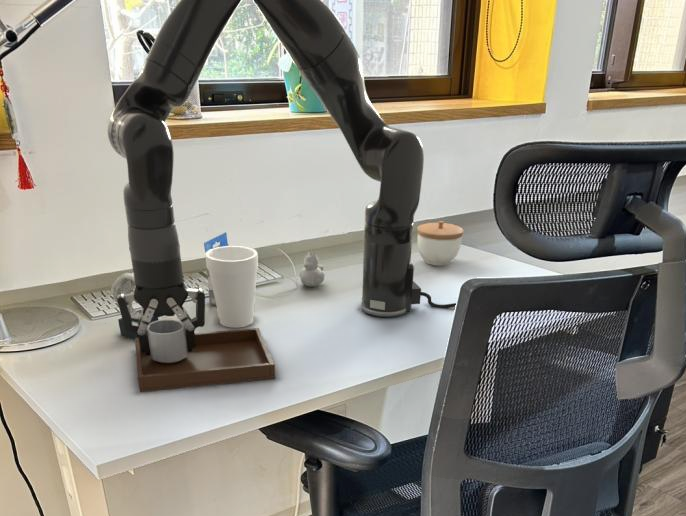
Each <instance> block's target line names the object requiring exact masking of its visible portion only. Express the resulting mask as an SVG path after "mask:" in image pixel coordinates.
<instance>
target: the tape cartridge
mask: <svg viewBox="0 0 686 516" xmlns="http://www.w3.org/2000/svg"><path fill="white" fill-rule="evenodd" d="M216 243H217V244H218V243H219V244H218V245H217V246H215V247H214V245H216ZM223 246H230V245H229V243H228V233H227V231H225V232H223V233H222V234H221V233H220V234H219V235H217V236H215V237H213V238H211V239H209V240H207V241H205V242H203V247H204V253H206V252H207V251H208V250H210V249H213V248H217V247H223ZM206 275H207V286H208V287H207V288H208V300H209V305H210V306H211V305H212V306H216V301H215V297H214V292H213V288H212V283H211V279H210V274H209V270H208V269H207V268H206Z"/></svg>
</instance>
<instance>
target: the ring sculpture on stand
mask: <svg viewBox="0 0 686 516" xmlns="http://www.w3.org/2000/svg"><path fill="white" fill-rule="evenodd" d="M135 287H136V286H135V279H134V273H133V272H125V273H122V274H120V275H119V276H117V278H116V279H115V280H114V281H113V282H112V285H111V287H110V293H111V295H112V296H113V300H114V302H115V303H116V304H117V306H118V307H119V305H118V302H117V295H118V293H120V292H122V293H124V294H129V293H132V291H134V289H135ZM141 308H142V307H141ZM129 311H130V315H131V318H132V322H135V323H138V322H139V320H140V317H141V313H142V311H143V308H142V309H139V310H136V309H134V307H133V306H132V307H131V308H129ZM117 320H118V321H117V322H118V326H119V332H120V336H121V337H124V338H128V339H131V340H134V341H135V338H139V337H138V335H137V334H136V333H133V332H131V333H128V332H127V331H126V329H125V326H124V323H123V319H122V317H120V318H118V319H117ZM158 320H159V317H154V316H152V319H151V321H150V323H152V322H154V321H158Z"/></svg>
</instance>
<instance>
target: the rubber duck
mask: <svg viewBox="0 0 686 516" xmlns="http://www.w3.org/2000/svg"><path fill="white" fill-rule="evenodd" d="M299 278H300V283H301V284H302V285H304V286H305V287H309V288H312V287H316V286H319V285H320V284H322V283H323V282H324V281H325V272H324V265H323V264H320V262H319V257H318V256H317V255H316V253H312V250H311V249H309V251H308V252H306V255H305V257H304V259H303V267H302V268H301V269H300V271H299Z"/></svg>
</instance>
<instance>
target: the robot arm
mask: <svg viewBox="0 0 686 516" xmlns="http://www.w3.org/2000/svg"><path fill="white" fill-rule="evenodd" d="M242 1H243V0H179V2H178V3H177V4H176V5H175V6H174V8H173V9H172V10H171V12H170V14H168V16H167V18H166V19H165V21H164V22H163V24H162V25H161V27H160V29H159V31H158V33H157V34H156V37H155V39H154V40H153V43H152V45H151V47H150V49H149V51H148V53H147V55H146V58H145V60H144V62H143V65H142V67H141V69H140V72H139V73H138V75H137V76H136V77H135V79H134V80H132V82H131V83H130V85H128V88H127V89H126V91H125V92H124V93H123V94H122V96H121V97H120V98H119V100H118V102H117V103H116V104H115V107H114V109H113V110H112V113H111V115H110V117H109V121H108V125H107V137H108V141H109V144H110V147H112V149H113V151H114V152H115V153H117V155H119V156H120V157H121V158H124V159H125V160H126V164H127V177H128V182H127V183H126V184H125V185H124V188H123V194H122V195H123V204H124V210H125V217H126V223H127V239H128V249H129V253H130V260H131V266H132V273H134V279H135V287H134V290H133V292H130V293H129V294H124V293H122V292H120V293H118V295H117V302H118V304H117V306H118V305H119V306H118V308H119V313H120V316H121V318H122V319H123V323H124V326H125V329H126V331H127V332H128V333H131V332H133V333H136V334H137V335H138V337H139V343H140V350H141V351H142V352H145V354H146V355H150V352H149V345H148V339H147V333H146V330H147V327H148V325H149V324H150V321H151V319H152V316H154V317H158V318H161V317H174V316H176V317H177V318H178V321H181V322H182V323H183V324H184V326H185V329H186V337H187V346H188V352H191V351H192V348H195V346H196V342H195V333H196V332H195V330H196V329H198V328H199V327H200V328H203V327H204V326H205V324H206V294H205V291H204V288H203V287H201V286H198V287H197V288H187V286H186V285H185V282H184V281H185V280H184V272H183V265H182V255H181V245H180V238H179V234H178V230H177V227H176V220H175V213H174V204H173V203H174V202H173V196H172V188H173V187H172V186H173V176H174V175H173V174H174V158H175V157H174V145H173V139H172V136H171V132H170V130H169V128H168V126H167V125H166V123H165V122H166V121H167V119H168V117H169V116H170V115H171V113H172V112H173V111H174V110H176V109H179V108H181V107H183V106H184V105H185V104H186V103H187V102H188V99H189V98H190V96H191V95H192V92H193V90H194V88H195V86H196V84H197V81H198V80H199V78H200V76H201V74H202V72H203V70H204V68H205V66H206V63H207V62H208V59H209V57H210V55H211V54H212V52H213V49H214V48H215V46H216V44H217V43H218V40H219V38H220V36H221V35H222V33H223V32H224V30H225V28H226V26H227V24H228V23H229V21H230V19H231V18H232V17H233V15H234V13H235V11H236V10H237V8H238V7H239V5H240V4H241V2H242ZM252 1H253V3H254V5H256V7H257V8H258V11H260V14H262V16H263V18H264V20H265V21H266V22H267V24H268V25H269V27H270V29H271V30H272V32H273V34H274V35H275V37H276V38H277V39H278V41H279V42H280V44H281V45H282V47H283V48H284V50H285V51H286V53H287V54H288V56H289V57H290V59H291V60H292V62H293V64H294V65H295V67H296V68H297V70H298V71H299V73H300V74H301V76H302V77H303V79H304V80H305V82H306V83H307V84H308V86H309V87H310V89H311V90H312V92H313V93H314V94H315V95H316V97H317V98H318V100H319V101H320V103H321V104H322V106H323V108H324V109H325V110H326V111H327V112H328V114H329V116H330V117H331V118H332V120H333V121H334V123H335V124H336V125H337V127H338V128H339V131H340V132H341V134H342V136H343V137H344V139H345V141H346V143H347V144H348V146H349V148H350V151H351V153H352V154H353V156H354V158H355V160H356V162H357V164H358V165H359V167H360V169H361V170H362V172H363V173H364V174H365V175H366V176H368V177H369V178H370V179H372V180H374V181H377V182H380V185H379V194H378V199H377V200H375V201H371V202H369V203H368V204H367V205H366V206H365V210H364V232H363V258H362V259H363V260H362V261H363V263H362V295H361V296H362V297H361V307H360V308H361V310H362V311H363V312H364V313H366V314H367V315H371V316H374V317H379V318H394V317H400V316H403V315H404V314H407V313H411V311H412V305H420V304H421V297H425V298H426V299H427V304H428V305H429V306H430V307H433V308H437V309H449V308H450V309H451V308H456V307H455V305H456V303H457V302H454V303H453V302H452V303H448V304H446V303H445V304H438V303H434V301H432V296H431V295H430V294H428V293H427V292H424V291H422V288H421V287H420V286H419V285H418V284H417V283H416V281H414V271H415V266H414V264H413V263H412V262H411V261H412V248H413V230H414V219H415V218H414V217H415V215H416V212H417V209H418V207H419V204H420V198H421V189H422V181H423V174H424V163H425V160H424V159H425V158H424V157H425V156H424V155H425V154H424V147H423V144H422V142H421V139H420V137H418V136H417V135H416V134H415V133H414V132H411V131H408V130H405V129H401V128H396V127H393V126H390V125H388V124H387V123H386V122H385V120H384V119H383V118H382V117H381V116H380V114H379V113H378V111H377V110H376V108H375V107H374V105H373V104H372V102H371V100H370V98H369V95H368V93H367V90H366V85H365V76H364V75H365V74H364V69H363V63H362V60H361V57H360V54H359V53H358V50H357V48H356V46H355V43H354V42H353V41H352V39H351V37H350V36H349V34H348V33H347V31H346V29H345V27H344V25H343V24H342V23H341V21H340V20H339V18H338V17H337V16H336V14H335V13H334V11H332V10H331V9H330V8H329V6H327V4H326V3H325V2H324V1H323V0H252ZM189 297H190V298H191V301H192V303H194V304H195V316H194V317H193V318H191V316H190V315H189V314H188V312H187V311H186V308H185V307H184V306H183V305H184V304H185V302H186V301H187V298H189ZM134 301H135V302H136V303H137V304H138V305H139V306H140V307H141V308H143V311H142V313H141V317H140V320H139V322H138V323H135V322H132V318H131V315H130V311H129V308H131V307H133V302H134ZM117 302H116V303H117Z"/></svg>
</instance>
